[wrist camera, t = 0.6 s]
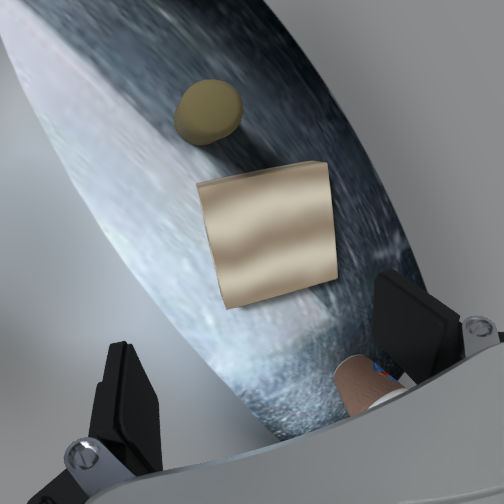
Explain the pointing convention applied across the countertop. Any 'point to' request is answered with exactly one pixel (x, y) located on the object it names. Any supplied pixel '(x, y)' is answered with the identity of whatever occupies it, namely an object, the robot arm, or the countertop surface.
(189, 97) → the olive tall waisted piece
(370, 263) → the countertop surface
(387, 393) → the coffee cup
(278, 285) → the birch plinth
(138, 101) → the countertop surface
